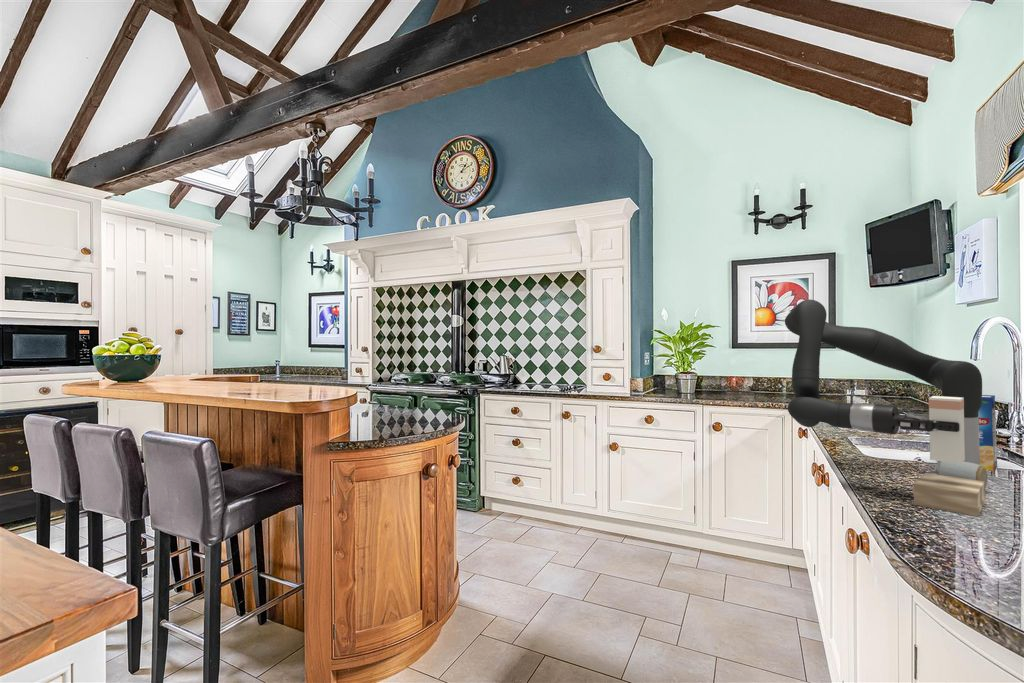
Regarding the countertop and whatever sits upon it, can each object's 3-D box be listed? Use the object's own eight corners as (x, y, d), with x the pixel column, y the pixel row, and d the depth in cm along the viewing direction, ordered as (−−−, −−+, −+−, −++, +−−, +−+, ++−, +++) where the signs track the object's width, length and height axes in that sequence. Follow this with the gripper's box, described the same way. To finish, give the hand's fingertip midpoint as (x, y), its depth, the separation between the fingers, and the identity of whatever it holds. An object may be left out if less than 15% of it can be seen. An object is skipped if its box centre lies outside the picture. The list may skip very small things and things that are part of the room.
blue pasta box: (994, 471, 141) (991, 397, 142) (945, 464, 150) (942, 394, 150) (997, 467, 146) (995, 395, 146) (949, 460, 154) (947, 393, 154)
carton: (934, 455, 119) (933, 395, 119) (965, 459, 114) (963, 397, 114) (929, 459, 115) (928, 397, 115) (961, 463, 111) (960, 399, 111)
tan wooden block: (925, 492, 123) (925, 472, 123) (985, 502, 115) (984, 481, 115) (914, 504, 114) (913, 483, 114) (977, 516, 106) (977, 493, 106)
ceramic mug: (980, 495, 119) (979, 465, 120) (938, 488, 126) (937, 459, 127) (993, 489, 125) (992, 460, 125) (952, 482, 132) (951, 454, 132)
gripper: (865, 406, 121) (956, 413, 108) (881, 401, 130) (965, 407, 117) (866, 435, 121) (956, 446, 108) (881, 428, 130) (966, 437, 117)
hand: (960, 425), depth 113 cm, fingers closed on carton, 5 cm apart
